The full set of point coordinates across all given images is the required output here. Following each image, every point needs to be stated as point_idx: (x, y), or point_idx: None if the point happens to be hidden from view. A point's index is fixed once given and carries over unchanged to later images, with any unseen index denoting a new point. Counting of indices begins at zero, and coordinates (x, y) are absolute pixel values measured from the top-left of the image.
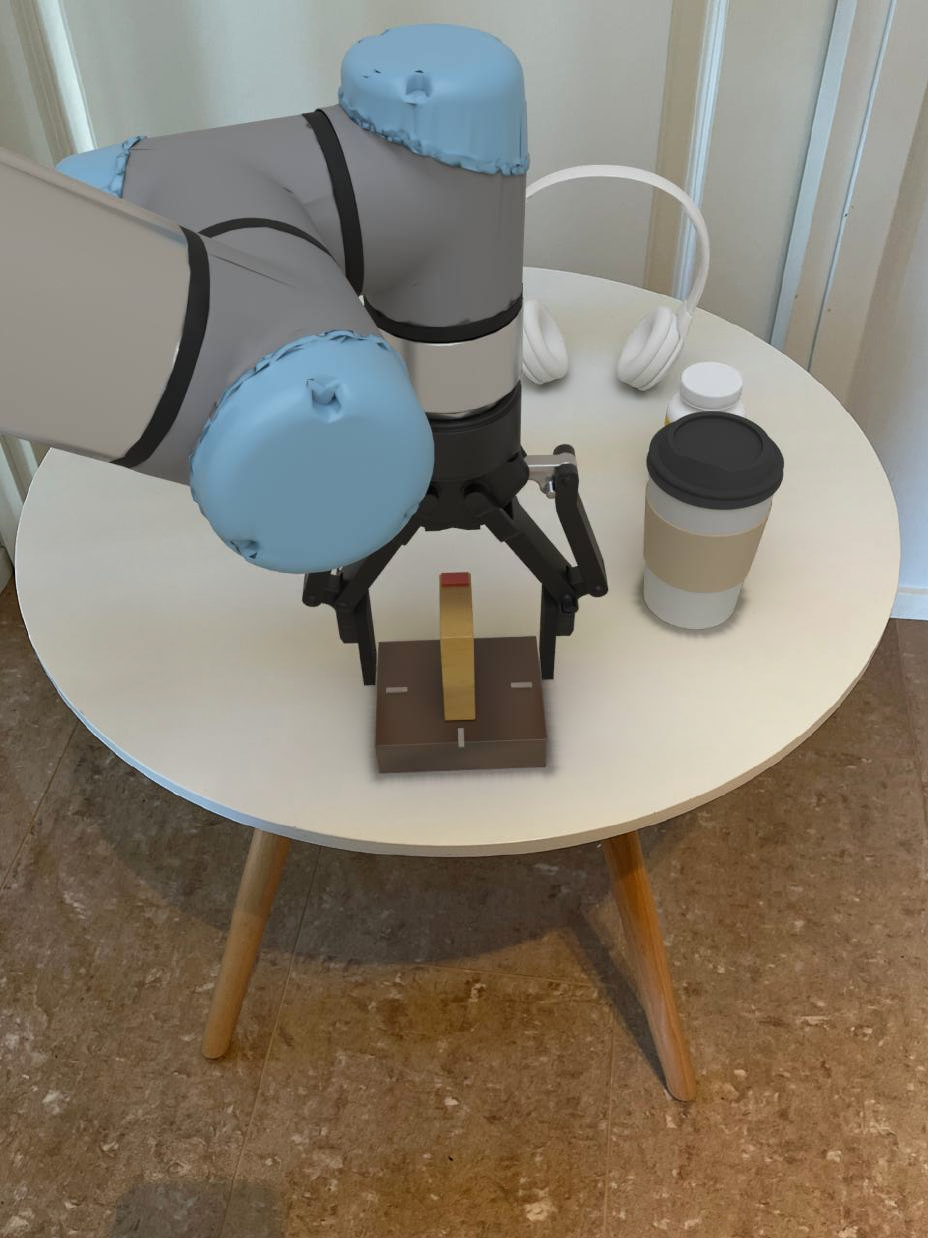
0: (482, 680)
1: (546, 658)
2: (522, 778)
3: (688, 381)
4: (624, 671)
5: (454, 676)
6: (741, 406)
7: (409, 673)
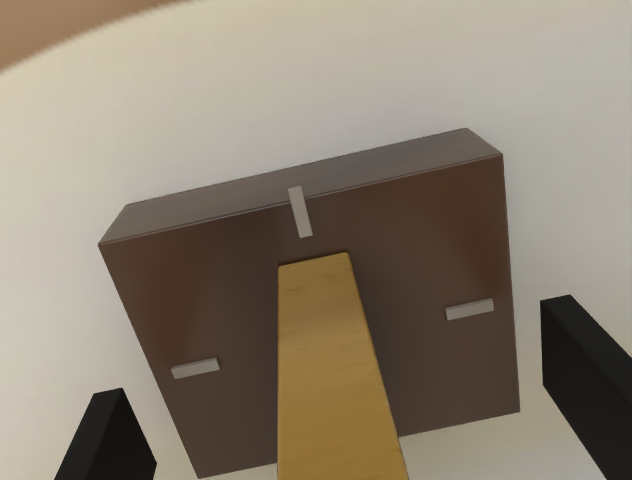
0: None
1: (87, 452)
2: (166, 169)
3: None
4: (41, 429)
5: (336, 353)
6: None
7: (446, 353)
